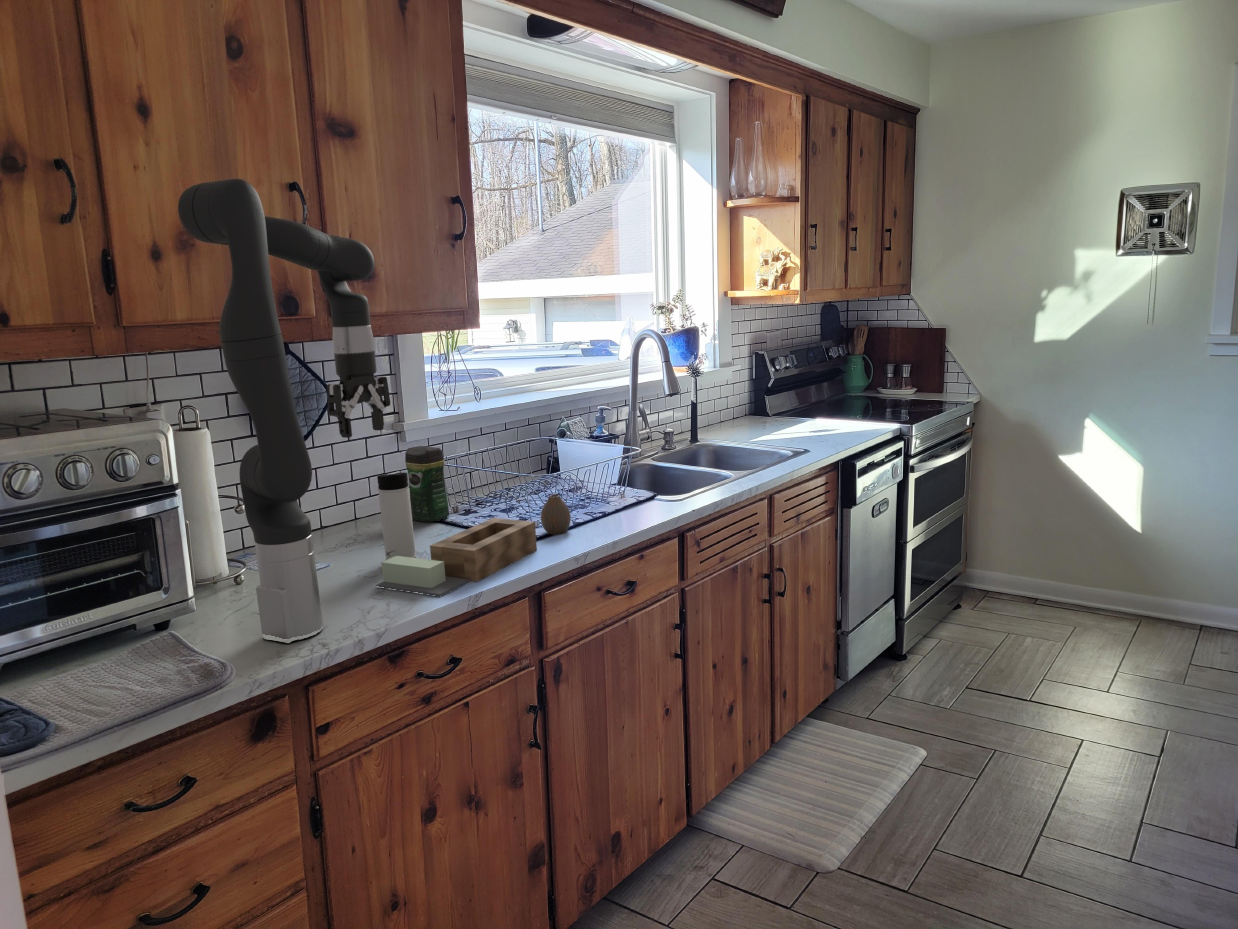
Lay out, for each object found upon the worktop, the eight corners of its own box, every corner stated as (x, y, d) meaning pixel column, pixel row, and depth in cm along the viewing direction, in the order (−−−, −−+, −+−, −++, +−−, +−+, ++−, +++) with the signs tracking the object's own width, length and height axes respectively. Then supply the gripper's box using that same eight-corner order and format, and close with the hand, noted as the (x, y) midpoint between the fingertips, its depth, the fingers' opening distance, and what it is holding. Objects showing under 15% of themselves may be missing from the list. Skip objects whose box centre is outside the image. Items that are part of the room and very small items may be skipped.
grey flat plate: (440, 597, 174) (440, 594, 174) (376, 587, 181) (375, 584, 181) (469, 582, 182) (469, 579, 181) (406, 573, 189) (406, 570, 189)
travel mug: (386, 569, 193) (376, 476, 188) (386, 560, 199) (376, 470, 195) (417, 565, 194) (407, 473, 190) (415, 556, 200) (406, 467, 196)
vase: (536, 534, 213) (533, 498, 211) (551, 527, 219) (549, 491, 217) (561, 537, 209) (559, 500, 208) (576, 529, 215) (574, 493, 214)
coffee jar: (455, 517, 232) (448, 445, 229) (430, 524, 226) (423, 450, 223) (430, 512, 238) (423, 442, 235) (405, 519, 232) (398, 447, 229)
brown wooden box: (476, 582, 181) (474, 550, 180) (432, 576, 186) (429, 545, 185) (537, 550, 200) (534, 521, 199) (495, 545, 205) (493, 517, 204)
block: (445, 580, 181) (443, 561, 180) (431, 588, 177) (429, 568, 177) (398, 574, 187) (396, 555, 186) (383, 581, 183) (381, 562, 182)
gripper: (341, 353, 168) (350, 440, 171) (394, 346, 180) (402, 428, 183) (311, 353, 171) (321, 439, 174) (366, 346, 183) (374, 427, 187)
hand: (362, 433), depth 179 cm, fingers open, 8 cm apart
